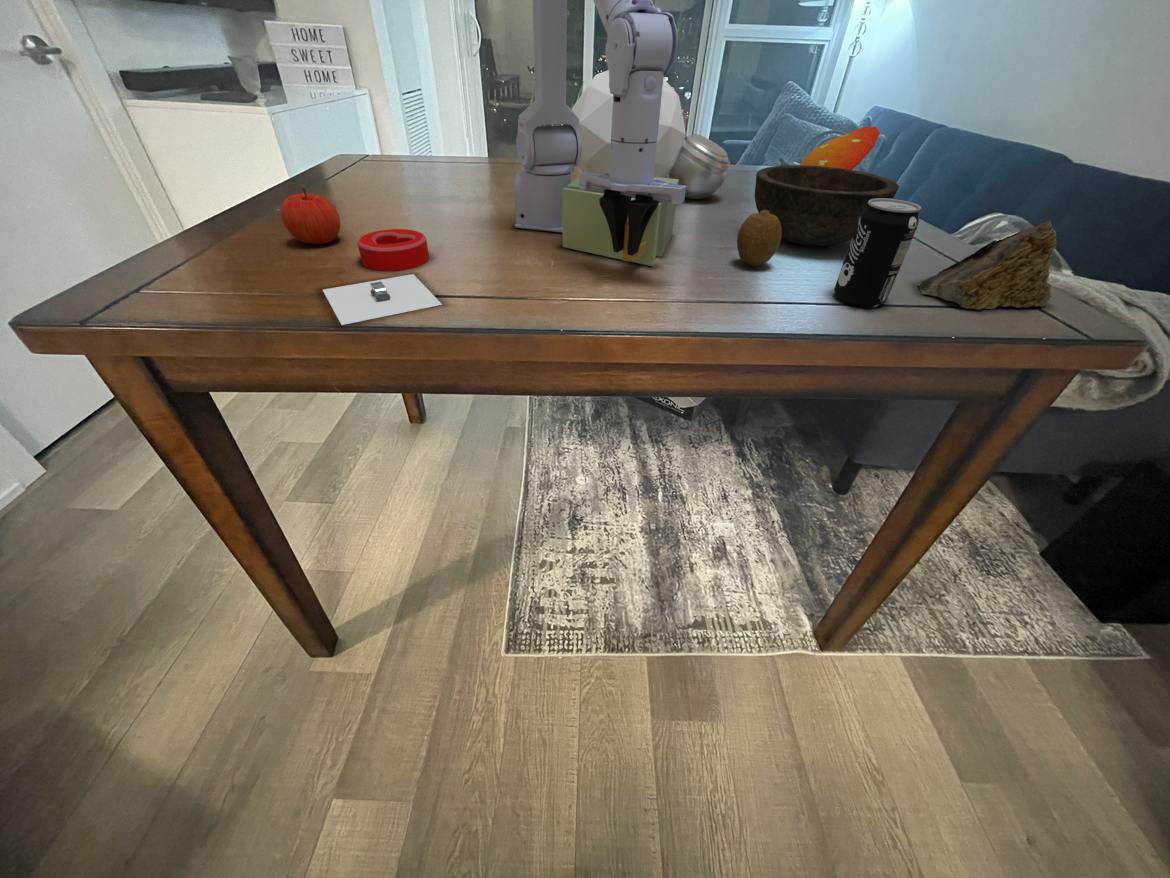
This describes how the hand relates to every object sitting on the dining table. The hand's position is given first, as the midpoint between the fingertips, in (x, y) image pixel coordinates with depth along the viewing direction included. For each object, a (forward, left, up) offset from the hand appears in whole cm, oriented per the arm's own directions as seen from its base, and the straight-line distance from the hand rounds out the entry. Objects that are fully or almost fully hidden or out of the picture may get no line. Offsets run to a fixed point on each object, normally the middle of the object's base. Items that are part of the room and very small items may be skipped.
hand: (625, 251), depth 70 cm
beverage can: (+32, +2, -4) cm, 32 cm away
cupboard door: (-5, +5, -3) cm, 8 cm away
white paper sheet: (-28, -18, -4) cm, 34 cm away
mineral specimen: (+49, +10, -4) cm, 50 cm away
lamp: (-5, +49, -4) cm, 49 cm away
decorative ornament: (-34, -5, -4) cm, 35 cm away
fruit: (+18, +11, -4) cm, 21 cm away
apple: (-50, -2, -4) cm, 50 cm away
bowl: (+27, +27, -4) cm, 38 cm away
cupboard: (-4, +16, -3) cm, 17 cm away
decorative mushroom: (+30, +53, -4) cm, 61 cm away
